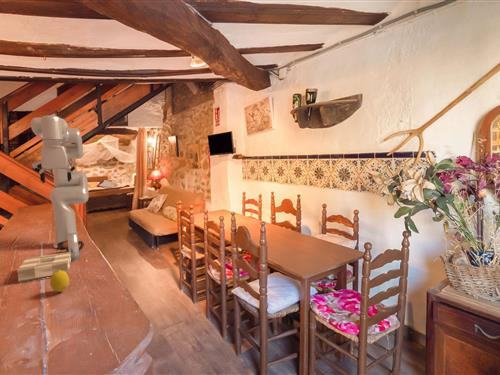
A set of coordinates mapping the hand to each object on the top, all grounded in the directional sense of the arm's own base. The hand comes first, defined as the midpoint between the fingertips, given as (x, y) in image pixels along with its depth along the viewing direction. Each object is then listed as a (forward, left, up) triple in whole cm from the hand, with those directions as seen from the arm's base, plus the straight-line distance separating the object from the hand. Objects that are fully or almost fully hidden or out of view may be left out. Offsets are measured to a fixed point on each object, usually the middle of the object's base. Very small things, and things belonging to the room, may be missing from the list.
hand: (56, 182), depth 135 cm
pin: (+4, +5, -36) cm, 36 cm away
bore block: (+16, -4, -36) cm, 40 cm away
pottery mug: (-6, +3, -36) cm, 37 cm away
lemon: (+41, +3, -36) cm, 55 cm away
